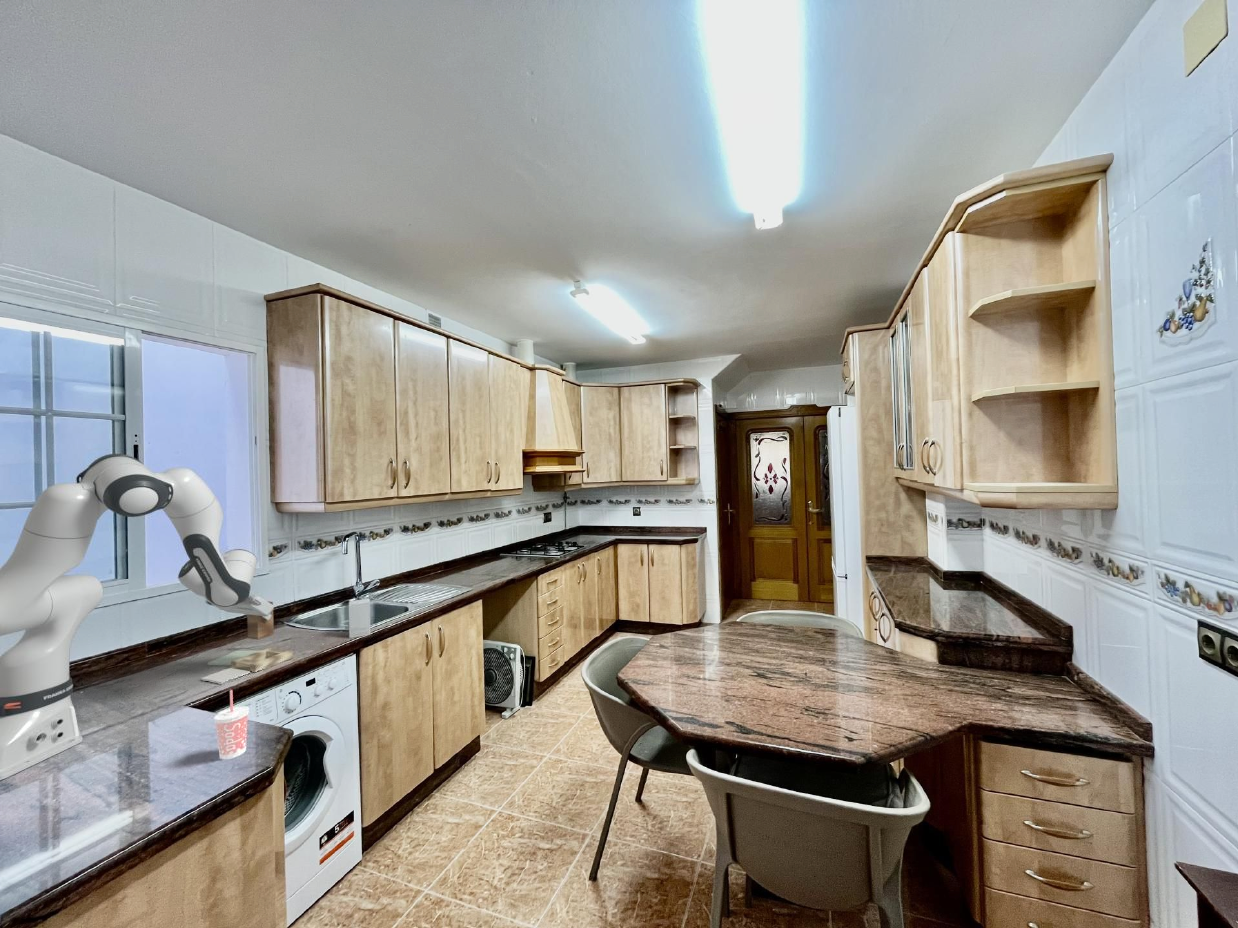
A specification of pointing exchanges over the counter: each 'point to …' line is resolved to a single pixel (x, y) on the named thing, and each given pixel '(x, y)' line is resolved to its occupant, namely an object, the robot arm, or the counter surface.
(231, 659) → the coaster
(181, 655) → the counter surface
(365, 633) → the supplement box
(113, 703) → the counter surface
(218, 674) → the puzzle board
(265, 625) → the walnut block
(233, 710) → the beverage cup
